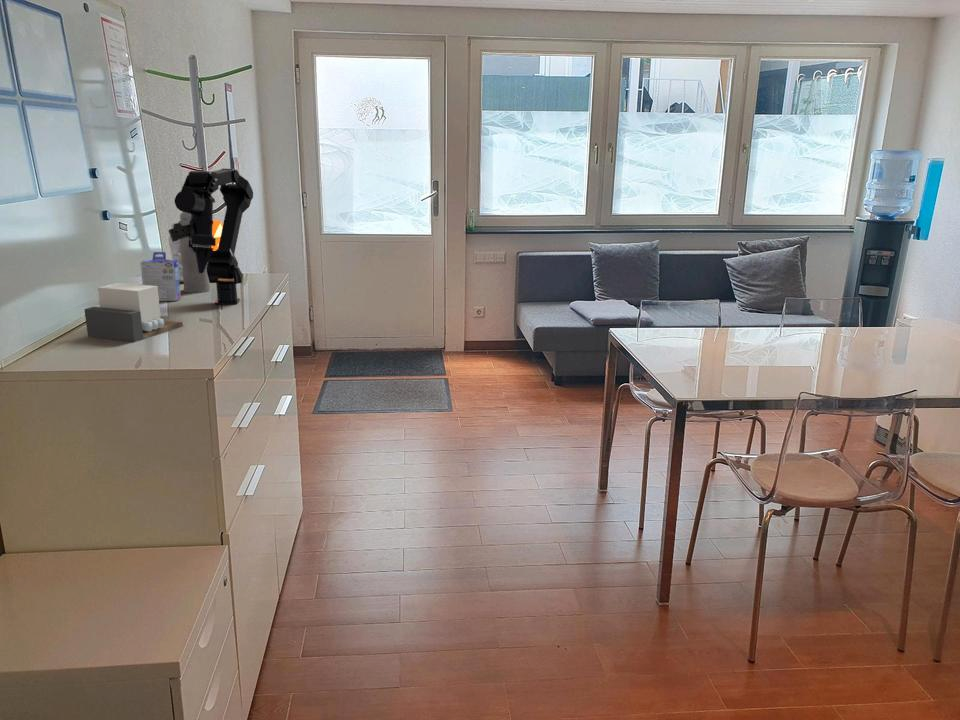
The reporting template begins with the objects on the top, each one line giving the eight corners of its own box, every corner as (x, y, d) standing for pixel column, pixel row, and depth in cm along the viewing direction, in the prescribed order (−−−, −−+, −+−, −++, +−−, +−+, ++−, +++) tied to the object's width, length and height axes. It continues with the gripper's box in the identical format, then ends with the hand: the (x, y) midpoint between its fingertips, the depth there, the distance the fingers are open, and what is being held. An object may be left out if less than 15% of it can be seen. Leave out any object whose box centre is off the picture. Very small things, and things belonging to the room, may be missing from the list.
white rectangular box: (118, 321, 196) (114, 282, 193) (165, 326, 192) (161, 286, 190) (98, 327, 190) (93, 287, 187) (146, 332, 186) (142, 291, 183)
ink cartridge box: (181, 297, 234) (177, 251, 230) (178, 301, 229) (173, 254, 225) (148, 298, 232) (143, 251, 228) (143, 301, 227) (138, 254, 223)
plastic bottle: (180, 284, 255) (175, 225, 249) (168, 282, 258) (162, 223, 253) (196, 282, 260) (191, 223, 255) (184, 279, 263) (179, 222, 258)
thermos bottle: (199, 287, 251) (192, 202, 244) (215, 290, 247) (208, 203, 239) (179, 290, 245) (171, 203, 237) (194, 293, 241) (187, 204, 233)
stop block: (96, 333, 189) (93, 306, 187) (143, 339, 185) (140, 311, 184) (87, 336, 187) (84, 309, 185) (134, 341, 183) (131, 313, 181)
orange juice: (216, 273, 278) (212, 218, 273) (233, 275, 274) (229, 220, 268) (199, 276, 272) (195, 220, 266) (216, 278, 267) (212, 222, 262)
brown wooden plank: (139, 321, 203) (138, 317, 203) (182, 325, 199) (182, 321, 199) (87, 336, 187) (87, 331, 186) (134, 341, 183) (134, 337, 182)
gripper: (169, 217, 214) (169, 272, 215) (171, 210, 197) (170, 270, 198) (210, 220, 219) (210, 274, 220) (216, 214, 202) (215, 272, 203)
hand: (201, 273), depth 210 cm, fingers closed
